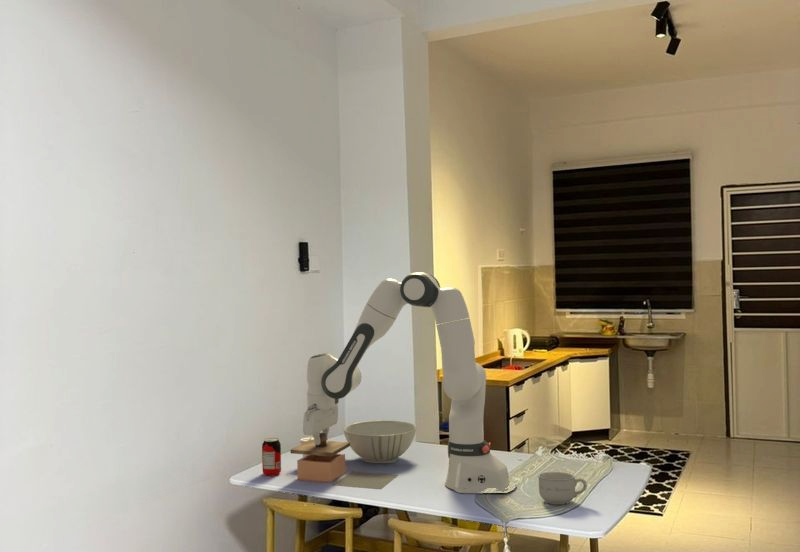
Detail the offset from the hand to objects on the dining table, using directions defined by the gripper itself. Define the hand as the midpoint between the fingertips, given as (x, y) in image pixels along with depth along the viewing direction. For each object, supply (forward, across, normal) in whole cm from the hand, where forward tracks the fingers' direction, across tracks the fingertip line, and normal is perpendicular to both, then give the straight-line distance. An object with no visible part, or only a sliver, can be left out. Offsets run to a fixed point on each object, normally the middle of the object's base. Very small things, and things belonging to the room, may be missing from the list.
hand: (321, 442), depth 240 cm
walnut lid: (+2, 0, 0) cm, 2 cm away
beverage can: (+12, 0, +19) cm, 22 cm away
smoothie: (+12, +13, +11) cm, 21 cm away
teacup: (+12, -5, -80) cm, 81 cm away
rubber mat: (+12, 0, -16) cm, 20 cm away
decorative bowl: (+12, +27, -11) cm, 32 cm away
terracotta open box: (+12, 0, 0) cm, 12 cm away
